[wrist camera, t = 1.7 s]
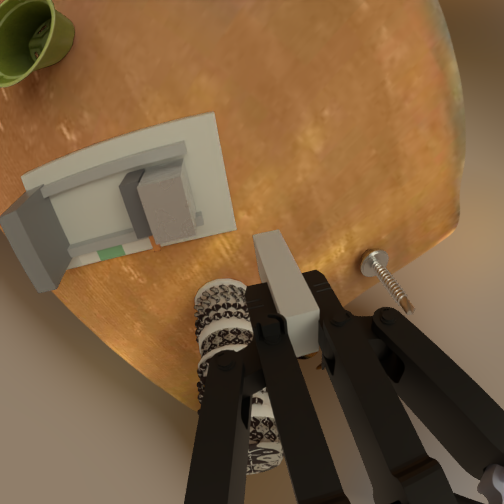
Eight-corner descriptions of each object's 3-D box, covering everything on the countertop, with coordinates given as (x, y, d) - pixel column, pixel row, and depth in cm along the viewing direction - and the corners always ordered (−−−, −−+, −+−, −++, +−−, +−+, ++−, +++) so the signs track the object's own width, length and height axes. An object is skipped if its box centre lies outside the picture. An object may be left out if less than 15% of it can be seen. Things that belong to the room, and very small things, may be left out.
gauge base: (26, 172, 27) (-10, 201, 20) (213, 111, 29) (218, 122, 22) (67, 264, 35) (46, 305, 28) (235, 223, 37) (245, 264, 30)
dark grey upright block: (127, 173, 29) (118, 186, 26) (144, 168, 29) (137, 180, 26) (151, 243, 34) (147, 263, 31) (166, 239, 34) (164, 259, 31)
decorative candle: (180, 309, 43) (186, 477, 22) (213, 265, 40) (241, 453, 19) (230, 329, 47) (258, 480, 26) (266, 291, 44) (317, 454, 23)
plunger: (146, 167, 29) (136, 187, 24) (183, 157, 29) (180, 176, 24) (161, 216, 32) (156, 244, 28) (195, 208, 33) (196, 235, 28)
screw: (349, 260, 43) (371, 237, 42) (366, 273, 45) (387, 251, 44) (390, 321, 33) (419, 294, 31) (406, 331, 35) (432, 306, 33)
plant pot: (46, 96, 23) (5, 108, 16) (7, 51, 18) (-36, 54, 11) (104, 35, 21) (73, 24, 14) (61, -10, 16) (26, -27, 9)
